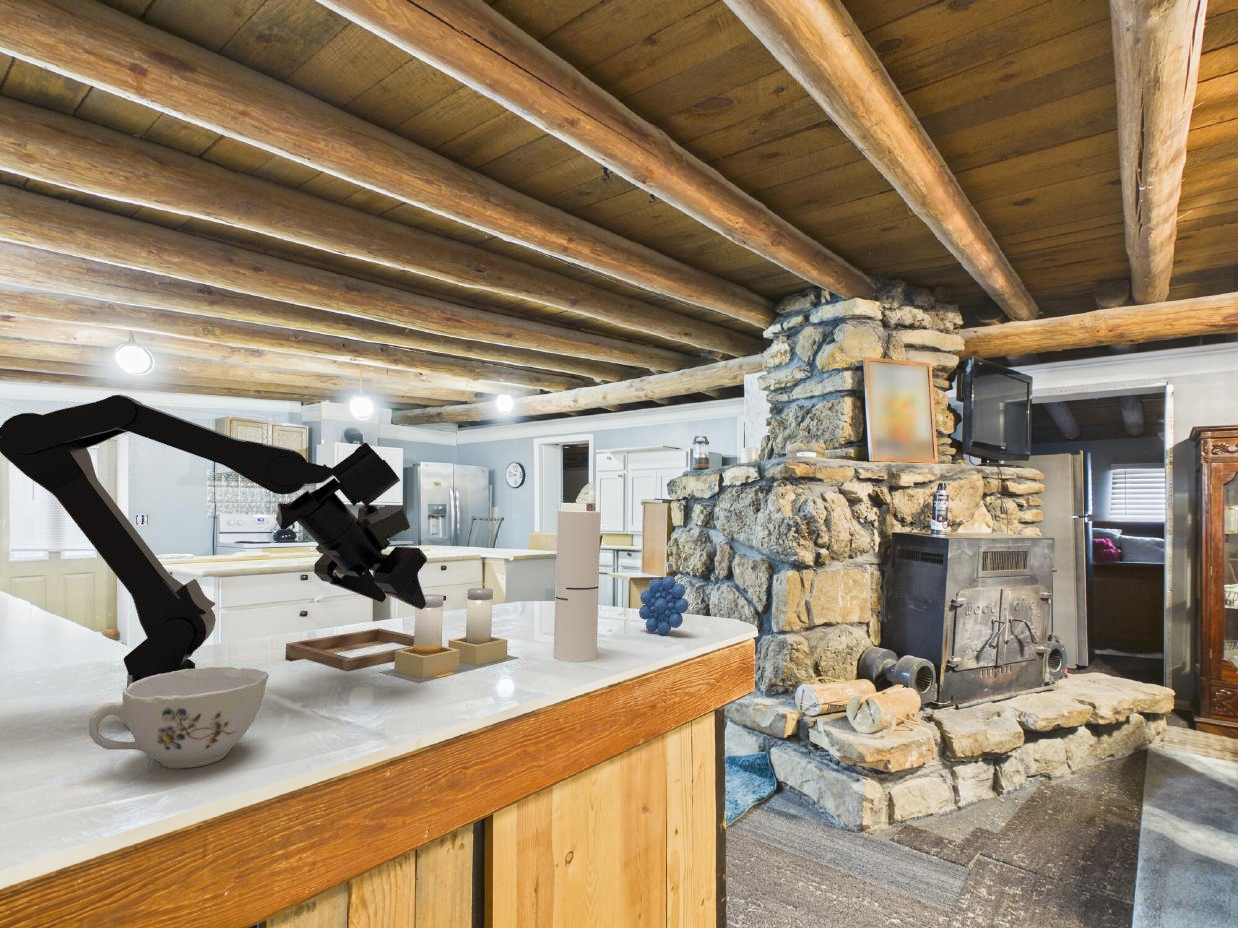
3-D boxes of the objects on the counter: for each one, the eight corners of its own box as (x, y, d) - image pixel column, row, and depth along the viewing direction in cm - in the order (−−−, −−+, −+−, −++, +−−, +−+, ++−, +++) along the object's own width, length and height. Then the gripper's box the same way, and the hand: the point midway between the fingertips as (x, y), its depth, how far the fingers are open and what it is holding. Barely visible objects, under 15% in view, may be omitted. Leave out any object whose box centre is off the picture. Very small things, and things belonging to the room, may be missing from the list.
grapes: (698, 635, 137) (699, 576, 138) (680, 640, 132) (682, 578, 132) (651, 627, 144) (652, 571, 145) (632, 632, 139) (633, 573, 139)
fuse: (476, 662, 106) (479, 592, 107) (459, 658, 109) (462, 589, 109) (495, 658, 110) (498, 589, 110) (478, 654, 112) (481, 587, 113)
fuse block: (418, 690, 94) (419, 661, 95) (379, 678, 100) (380, 651, 100) (519, 663, 111) (520, 638, 111) (481, 655, 116) (482, 631, 116)
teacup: (245, 728, 78) (249, 657, 78) (280, 761, 69) (284, 681, 69) (78, 760, 68) (83, 679, 68) (93, 804, 58) (99, 709, 59)
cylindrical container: (590, 669, 108) (594, 512, 109) (547, 666, 109) (552, 511, 110) (600, 659, 115) (604, 511, 116) (560, 656, 116) (564, 510, 117)
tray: (347, 677, 100) (347, 660, 100) (285, 658, 110) (286, 643, 110) (441, 657, 114) (442, 642, 114) (379, 642, 124) (379, 628, 124)
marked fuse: (424, 675, 98) (427, 599, 99) (406, 670, 101) (409, 596, 101) (446, 670, 102) (449, 596, 102) (429, 665, 104) (431, 593, 105)
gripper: (417, 486, 89) (478, 565, 97) (337, 485, 100) (398, 556, 108) (361, 550, 82) (432, 629, 90) (281, 541, 93) (351, 612, 101)
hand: (403, 603), depth 98 cm, fingers open, 9 cm apart
